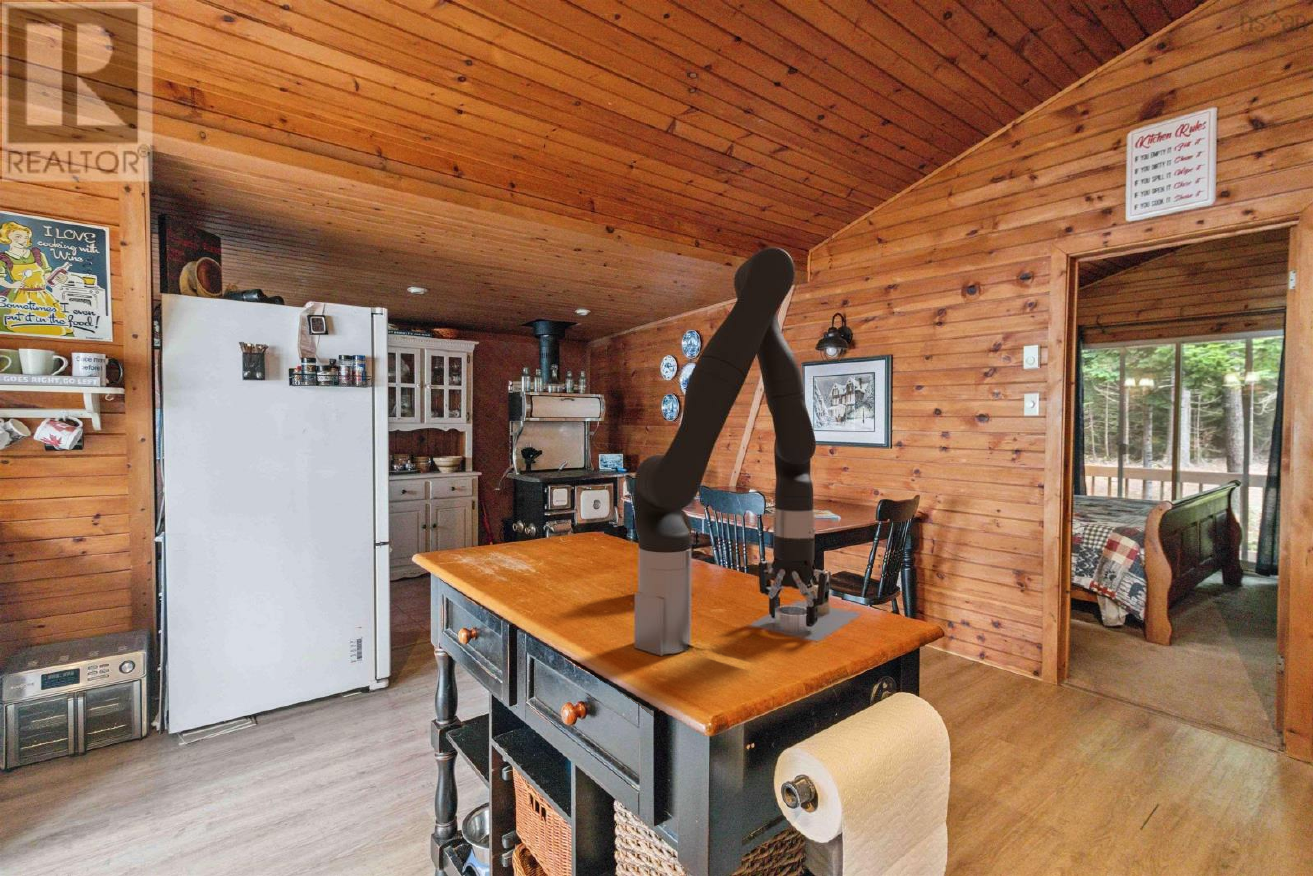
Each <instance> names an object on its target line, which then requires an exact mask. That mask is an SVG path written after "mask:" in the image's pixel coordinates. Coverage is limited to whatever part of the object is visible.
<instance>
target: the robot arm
mask: <svg viewBox="0 0 1313 876" xmlns="http://www.w3.org/2000/svg"><path fill="white" fill-rule="evenodd" d="M795 275H796V270H795V264H794V261H793V258H792V257H791V256H790V254H789V253H788V252H787V251H785V250H784V249H782V248H780V247H773V246H772V247H766V248H764V249H761V250H759V251H757V252H755V253H754V254H752V255H751V256H750V257H749V258H748V259H747V260H745V261H744V262H743V263H742V264H741V265H740V266H739V267H738V268H737V270H736V271H735V274H734V278H733V287H734V290H735V294H736V295H735V296H736V301H735V303H734V305H733V308H732V309H731V311H730V312H728V315H727V316H726V318H725V319H724V320H723V322H722V323H721V324H720V325H719V326H718V328H717V329H716V331H715V332H714V334H713V335H712V336H711V338H710V339H709V340H708V342H707V343H706V345H705V346H704V348H703V350H702V351H701V353H700V355H699V357H698V359H697V360H696V363H695V365H694V367H693V369H692V371H691V373H690V376H689V378H688V380H687V383H686V388H685V391H684V392H685V394H684V399H683V410H682V411H683V412H682V417H681V421H680V424H679V427H678V429H677V431H676V434H675V435H674V437H673V439H672V441H671V443H670V445H669V447H668V448H667V451H666V452H665V453H664V454H662V455H661V454H657V455H652V456H651V455H650V456H649V457H646V458H645V459H644V460H642V462H641V463H640V464H639V466H637V469H636V472H635V475H634V481H633V509H634V510H633V511H634V528H635V531H636V534H637V538H638V539H637V540H638V586H637V587H638V592H635V593H634V633H633V634H634V642H633V643H634V648H635V649H638V650H641V651H644V652H648V653H650V654H654V655H658V656H661V657H662V656H665V655H669V654H679V653H682V652H684V651H687V650H688V649H690V647H691V635H692V634H691V630H692V628H691V627H692V623H691V622H692V621H691V619H692V618H691V617H692V612H691V611H692V532H691V533H690V531H689V529H688V528H687V526H686V524H685V522H684V519H683V515H682V510H683V509H685V508H686V507H688V506H689V505H690V504H691V503H692V502H693V501H694V500H695V498H696V496H697V494H698V492H699V489H700V487H701V485H702V482H703V479H704V476H705V475H706V471H707V467H708V464H709V462H710V459H711V456H712V453H713V450H714V448H715V445H716V443H717V440H718V438H719V436H720V434H721V432H722V430H723V428H724V425H725V424H726V421H727V419H728V417H729V414H730V412H731V411H732V408H733V406H734V404H735V403H736V401H737V398H738V396H739V394H740V392H741V390H742V388H743V386H744V384H745V382H746V379H747V377H748V375H749V372H750V370H751V367H752V365H753V364H754V360H755V358H756V357H757V361H758V365H759V369H760V374H761V380H762V383H763V389H764V394H765V399H766V405H767V407H768V411H769V413H770V414H771V417H772V423H773V430H774V436H775V439H774V442H773V443H774V446H773V451H774V452H773V453H774V454H773V455H774V456H773V457H774V470H775V472H774V473H775V488H774V514H773V520H772V521H773V528H772V529H773V530H772V531H773V532H772V535H773V537H772V556H773V561H769V560H767V559H766V560H763V561H761V562H758V564H757V569H758V571H757V572H758V580H759V581H758V584H759V585H758V586H759V592H760V593H761V594H764V595H766V596H767V597H768V600H769V601H768V607H769V609H768V612H769V614H770V615H771V617H772V618H774V619H775V608H777V607H779V606H781V597H780V594H781V593H782V591H783V589H784V588H789V587H791V588H793V589H795V590H799V592H800V594H801V596H803V598H804V599H805V602H807V604H808V606H807V607H806V625H807V626H809V627H812V626H813V625H814V624H815V623H817V620H818V605H823V604H824V603H827V602H828V600H829V590H830V588H831V577H832V573H831V571H830V570H828V569H827V570H821V569H816V566H815V562H814V561H815V533H816V528H815V522H816V521H815V514H814V483H813V481H812V478H811V460H812V458H813V457H814V454H815V452H816V449H817V441H816V435H815V431H814V428H813V424H812V421H811V418H810V414H809V411H808V408H807V405H806V404H807V403H806V397H805V390H804V385H803V379H802V375H801V372H800V371H801V370H800V368H799V364H798V362H797V359H796V357H795V355H794V352H793V351H792V349H791V348H790V346H789V344H788V342H787V341H786V338H785V337H784V335H783V332H782V330H781V326H780V323H779V319H778V315H777V314H778V310H779V308H780V307H781V305H782V304H783V302H784V300H785V299H786V297H787V296H788V294H789V293H790V291H791V289H792V287H793V284H794V282H795V277H796V276H795ZM772 572H774V574H775V576H776V577H775V579H774V581H773V582H772V578H771V573H772ZM814 576H815V580H816V582H817V583H818V584H817V585H818V592H817V594H816V592H815V587H814V585H815V584H814V583H813V581H812V579H814ZM830 591H831V590H830Z"/></svg>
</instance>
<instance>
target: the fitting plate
mask: <svg viewBox="0 0 1313 876" xmlns="http://www.w3.org/2000/svg"><path fill="white" fill-rule="evenodd" d="M813 585H814V587H815V592H816V594H817V592H818V584H813ZM830 591H831V590H829V600H828V602H827V603H824V604H823V605H818V620H817V623H815V624H814V625H813V626H812V627H811V630H809V631H808V632H802V633H793V632H786V631H781V630H779V629H777V628H776V627H775V619H774V618H772V617H771V615H770V613H769V614H768V615H765V616H763V617H761V618H759V619H757V620H754V621H753V622H751V623H748V624H747V625H748V626H751V627H755V628H759V629H761V630H762V629H763V630H767V631H771V632H775V633H778V634H783V635H787V636H792V637H796V638H800V639H804V640H807V641H811V642H816V643H818V642H820V641H822V640H823V639H824V638H826V637H829V636H830V635H832V634H833V633H834V632H836V631H838V630H839V629H841V628H843V627H844V626H846V625H847V624H849V623H850V622H852V621H854V620H855V619H857V618H858V617H860V616H862V615H863V613H861V612H855V611H851V610H846V609H842V608H837V607H832V606H830V601H831V600H830V598H831V597H830ZM788 606H799V607H804V608H806V607H807V606H808V604H807V602H806V601H801V600H797V601H794V602H793V603H791V604H788Z"/></svg>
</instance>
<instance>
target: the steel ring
mask: <svg viewBox="0 0 1313 876" xmlns="http://www.w3.org/2000/svg"><path fill="white" fill-rule="evenodd" d="M788 605H789V604H788ZM788 605H780V606H779V607H777V608H775V627H776V628H777V629H779V630H781V631H786V632H793V633H802V632H808V631H809V630H811V627H809V626H807V625H806V608H804V607H799V606H788Z"/></svg>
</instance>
